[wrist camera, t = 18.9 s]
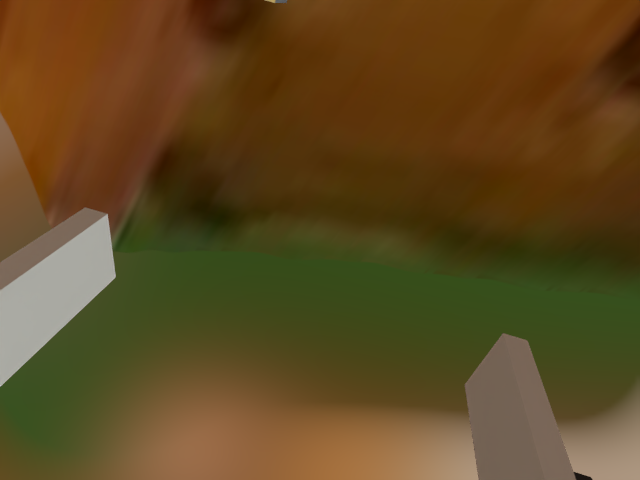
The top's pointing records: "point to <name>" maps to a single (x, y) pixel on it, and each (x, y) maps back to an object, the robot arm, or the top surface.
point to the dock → (277, 1)
